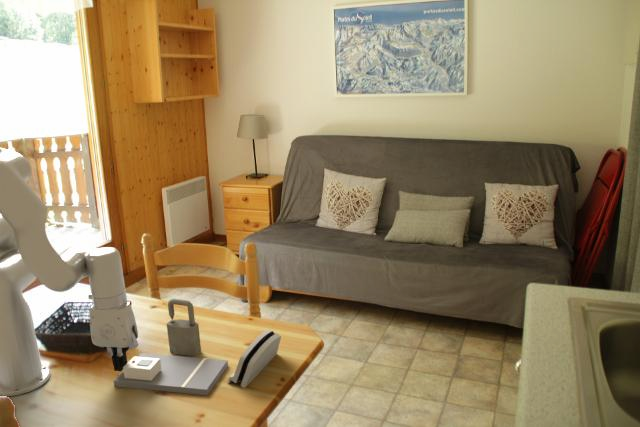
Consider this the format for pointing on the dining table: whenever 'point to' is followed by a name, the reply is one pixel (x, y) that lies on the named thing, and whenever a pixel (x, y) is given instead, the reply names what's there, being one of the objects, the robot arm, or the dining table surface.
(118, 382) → the board
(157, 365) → the white electronic device
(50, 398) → the dining table surface
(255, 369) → the grey zipper pouch
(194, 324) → the padlock
